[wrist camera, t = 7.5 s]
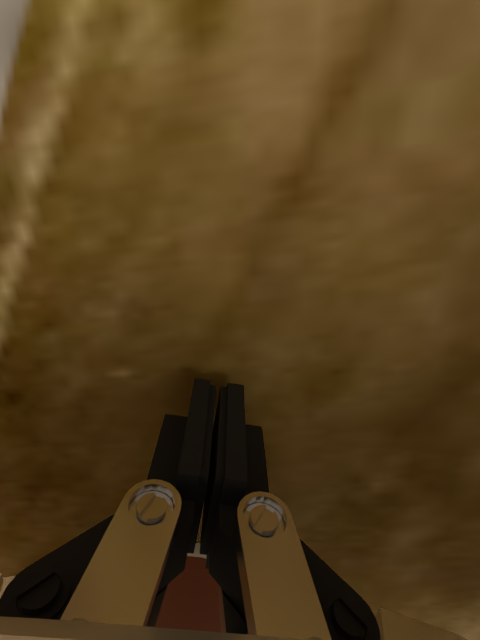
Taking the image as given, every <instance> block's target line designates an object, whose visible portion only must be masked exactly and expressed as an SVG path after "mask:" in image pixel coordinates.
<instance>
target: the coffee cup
mask: <svg viewBox="0 0 480 640" xmlns="http://www.w3.org/2000/svg"><path fill="white" fill-rule="evenodd" d="M157 627H159V628H172V629H184V630H197V631H209V632H221V625H220V614H219V603H218V583H217V582H216V581H215V580H214V578H213V577H212V576H211V575H210V573H209V569H206V555H202V554H200V543H196V544H195V549H194V554H191V553H187V559H186V564H185V570H184V571H183V572H181V573H180V574H179V575H178V576H177V577H176V578H174V579H173V580H172V581H171V582H170V583H169V586H168V591H167V594H166V598H165V601H164V604H163V608H162V611H161V615H160V618H159V621H158V625H157Z"/></svg>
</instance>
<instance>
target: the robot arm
mask: <svg viewBox="0 0 480 640" xmlns="http://www.w3.org/2000/svg"><path fill="white" fill-rule="evenodd" d="M210 382H211V381H210V380H203V379H196V378H195V381H194V386H193V392H192V397H191V403H190V408H189V413H188V417H184V416H176V415H168V414H166V415H165V417H164V421H163V424H162V428H161V431H160V435H159V439H158V442H157V446H156V449H155V453H154V457H153V460H152V464H151V467H150V471H149V474H148V478H147V480H144V481H142V482H140V483H137V484H136V485H134V486H133V487H132V488H130V489H129V490H128V492H127V493H126V494H125V496H124V497H123V499H122V501H121V503H120V505H119V507H118V509H117V511H116V513H115V514H114V515H112V516H110V517H109V518H107V519H106V520H104V521H102V522H101V523H99V524H97V525H96V526H94V527H92V528H91V529H89V530H87V531H86V532H84V533H82V534H81V535H79V536H78V537H76V538H74V539H73V540H71V541H69V542H68V543H66V544H64V545H63V546H61V547H59V548H58V549H56V550H54V551H53V552H51V553H49V554H48V555H46V556H45V557H43V558H41V559H40V560H38V561H36V562H35V563H33V564H31V565H30V566H28V567H27V568H25V569H24V570H23V571H21V572H20V573H19V574H17V575H16V576H11V577H4V578H2V573H0V640H467V639H465V638H463V637H461V636H459V635H457V634H454V633H452V632H449V631H446V630H443V629H440V628H438V627H435V626H432V625H429V624H426V623H424V622H421V621H418V620H415V619H412V618H410V617H407V616H404V615H401V614H398V613H396V612H393V611H390V610H387V609H384V608H382V607H380V608H379V610H378V611H376V610H374V609H371V608H370V607H369V606H368V604H367V603H366V602H365V601H364V600H363V599H362V597H360V596H359V595H358V594H357V593H356V592H355V591H354V590H353V589H352V588H351V587H350V586H349V585H348V584H347V583H346V582H345V581H344V580H343V579H341V578H340V577H339V576H338V575H337V574H336V573H335V572H334V571H333V570H332V569H331V568H330V567H329V566H328V565H327V564H326V563H325V562H324V561H323V560H321V559H320V558H319V557H318V556H317V555H316V554H315V553H314V552H313V551H312V550H311V549H310V548H309V547H308V546H307V545H306V544H305V543H304V542H302V541H301V540H300V539H299V536H298V533H297V529H296V526H295V523H294V520H293V517H292V514H291V512H290V510H289V508H288V507H287V505H286V504H285V503H284V502H283V501H282V500H281V499H279V498H278V497H277V496H275V495H273V494H270V493H269V488H268V479H267V469H266V460H265V451H264V441H263V432H262V428H261V427H259V426H252V425H245V407H244V386H243V385H238V384H231V383H228V384H227V387H222V386H221V388H220V393H219V399H218V404H217V409H216V415H215V420H214V425H213V419H214V407H215V394H216V386H215V385H210ZM203 503H204V509H203V520H202V531H201V542H200V554H202V555H206V569H209V573H210V575H211V576H212V577H213V578H214V580H215V581H216V582H217V583H218V603H219V614H220V625H221V632H209V631H197V630H184V629H172V628H159V627H157V625H158V621H159V618H160V615H161V611H162V608H163V604H164V601H165V598H166V594H167V591H168V586H169V583H170V582H171V581H172V580H173V579H174V578H176V577H177V576H178V575H179V574H180V573H181V572H183V571H184V570H185V564H186V559H187V553H191V554H194V549H195V544H196V539H197V534H198V529H199V524H200V519H201V513H202V508H203Z"/></svg>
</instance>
